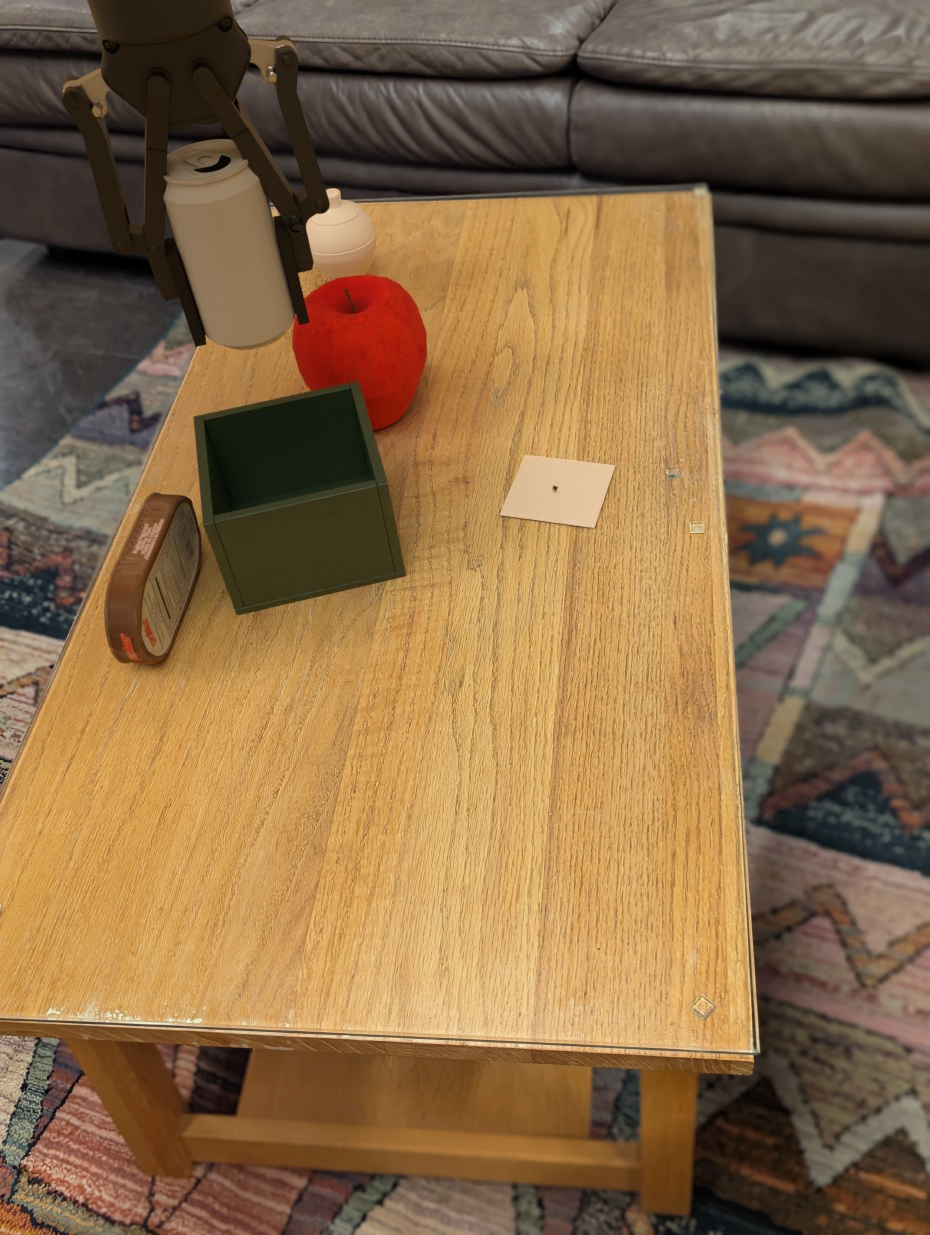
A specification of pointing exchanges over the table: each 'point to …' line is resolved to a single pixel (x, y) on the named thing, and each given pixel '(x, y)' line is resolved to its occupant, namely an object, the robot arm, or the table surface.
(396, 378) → the apple
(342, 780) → the table surface
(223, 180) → the beverage can
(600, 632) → the table surface
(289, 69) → the robot arm
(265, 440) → the waste bin
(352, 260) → the spinning top
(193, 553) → the tin
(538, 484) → the coaster
